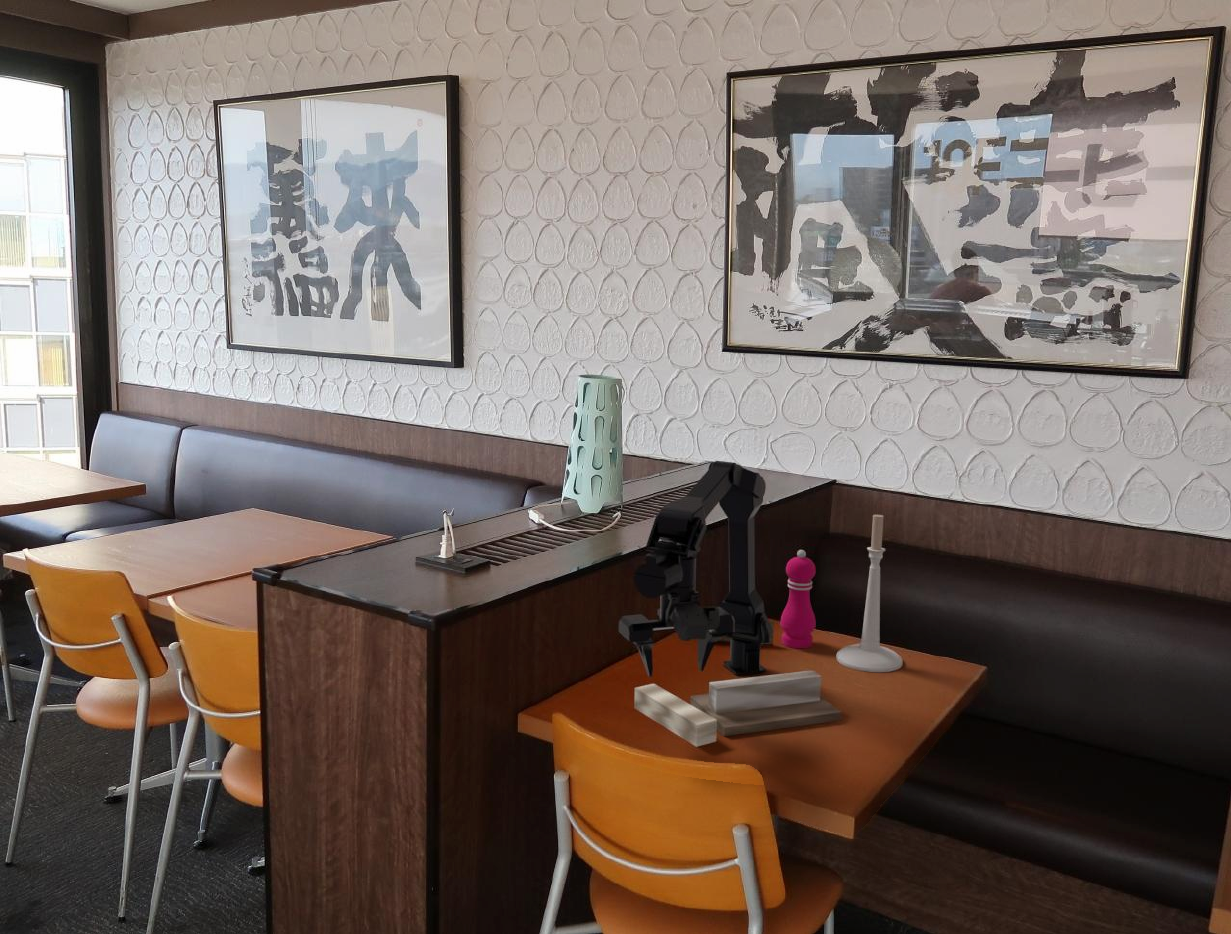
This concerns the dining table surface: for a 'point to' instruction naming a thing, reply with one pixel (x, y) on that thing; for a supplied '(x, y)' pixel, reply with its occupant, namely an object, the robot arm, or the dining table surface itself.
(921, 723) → the dining table surface
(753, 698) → the ridge stand
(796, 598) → the pepper mill
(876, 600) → the candlestick
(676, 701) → the cream beige bar
